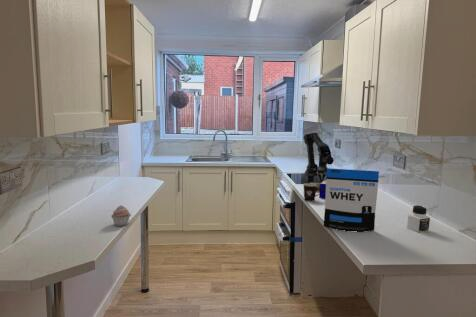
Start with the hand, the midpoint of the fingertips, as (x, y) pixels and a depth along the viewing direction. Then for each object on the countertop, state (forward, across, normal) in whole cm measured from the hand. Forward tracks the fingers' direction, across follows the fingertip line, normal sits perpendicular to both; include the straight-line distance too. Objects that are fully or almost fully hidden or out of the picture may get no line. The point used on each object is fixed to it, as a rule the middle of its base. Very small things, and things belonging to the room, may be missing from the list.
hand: (321, 183), depth 255 cm
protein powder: (+4, +26, -80) cm, 84 cm away
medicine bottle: (+4, +58, -66) cm, 88 cm away
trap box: (+4, 0, -4) cm, 6 cm away
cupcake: (+4, -80, -123) cm, 147 cm away
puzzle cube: (+4, +8, -23) cm, 24 cm away
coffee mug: (+4, -1, -36) cm, 36 cm away
